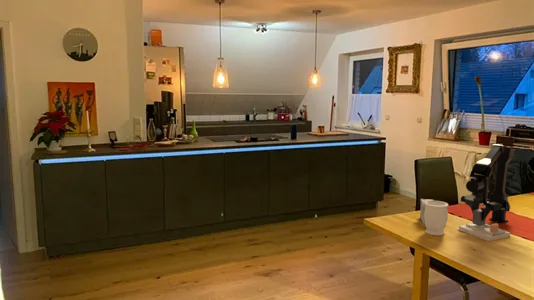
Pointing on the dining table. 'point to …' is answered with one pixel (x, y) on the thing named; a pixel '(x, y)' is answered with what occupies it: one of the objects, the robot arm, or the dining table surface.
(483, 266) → the dining table surface
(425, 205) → the light bulb box
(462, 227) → the socket plate
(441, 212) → the jar
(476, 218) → the plug
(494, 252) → the dining table surface
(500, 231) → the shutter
